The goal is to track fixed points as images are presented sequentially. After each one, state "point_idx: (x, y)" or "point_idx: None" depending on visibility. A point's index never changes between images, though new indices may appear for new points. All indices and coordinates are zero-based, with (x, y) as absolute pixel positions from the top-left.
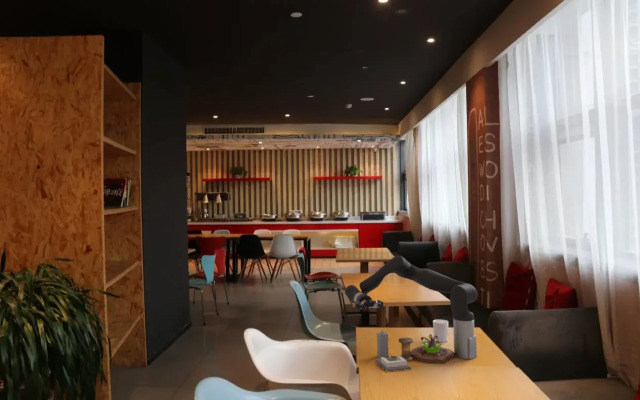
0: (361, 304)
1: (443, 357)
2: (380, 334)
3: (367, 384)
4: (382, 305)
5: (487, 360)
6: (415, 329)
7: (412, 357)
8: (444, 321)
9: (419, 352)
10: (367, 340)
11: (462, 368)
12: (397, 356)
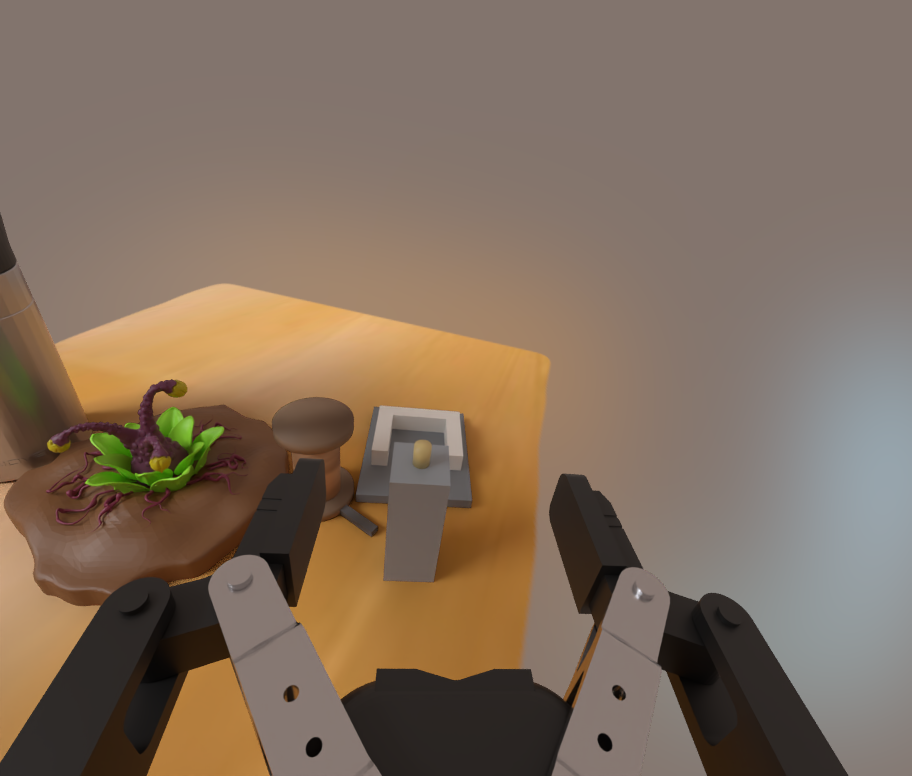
0: (638, 571)
1: (200, 409)
2: (444, 446)
3: (539, 382)
4: (279, 479)
5: None
6: None
7: None
8: None
9: (244, 468)
10: None
11: (207, 377)
12: (387, 446)
